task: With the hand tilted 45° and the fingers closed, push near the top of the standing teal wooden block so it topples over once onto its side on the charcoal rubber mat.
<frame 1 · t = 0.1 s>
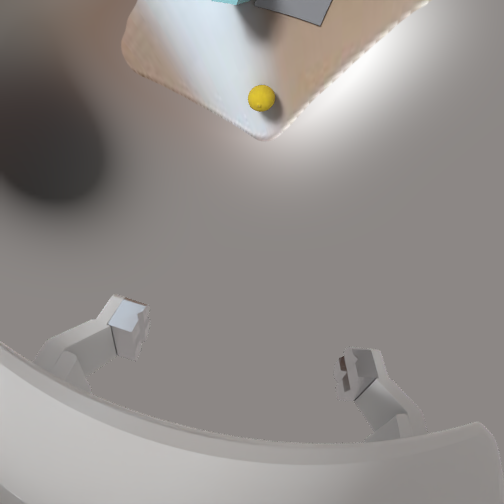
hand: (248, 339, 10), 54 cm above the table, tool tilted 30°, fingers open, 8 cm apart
lemon: (264, 90, 52), on the table
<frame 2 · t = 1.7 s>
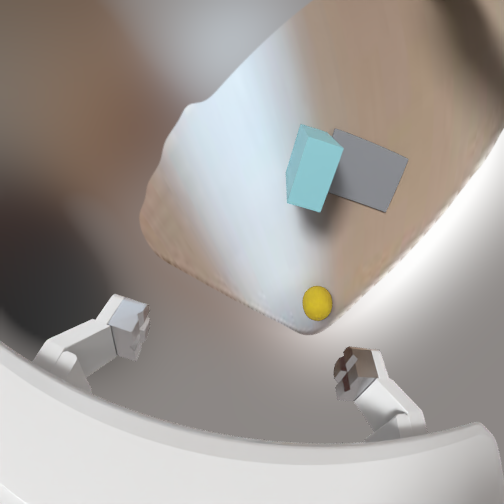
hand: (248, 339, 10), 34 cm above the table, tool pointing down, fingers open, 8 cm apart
lemon: (315, 288, 52), on the table
teal block: (306, 152, 38), on the table
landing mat: (362, 171, 39), on the table
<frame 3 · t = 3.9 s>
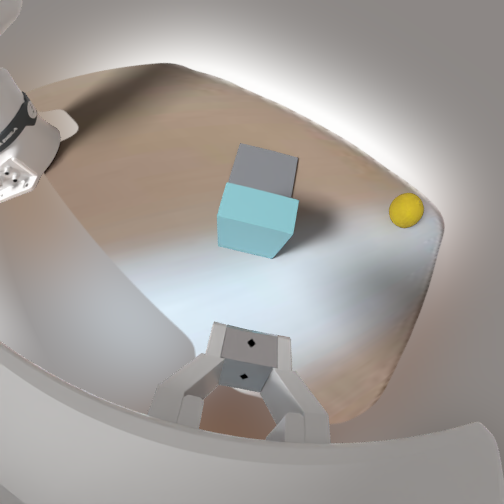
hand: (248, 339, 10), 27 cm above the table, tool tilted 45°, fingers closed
lemon: (393, 218, 44), on the table
teal block: (248, 239, 40), on the table
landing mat: (261, 183, 42), on the table
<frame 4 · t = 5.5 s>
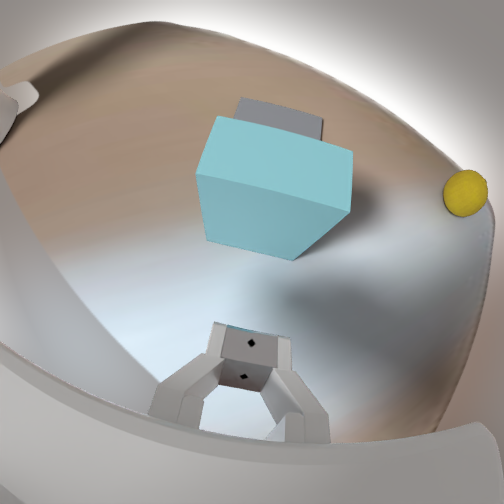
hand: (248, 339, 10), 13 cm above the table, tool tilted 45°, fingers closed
lemon: (445, 205, 29), on the table
teal block: (254, 230, 25), on the table
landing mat: (272, 148, 27), on the table
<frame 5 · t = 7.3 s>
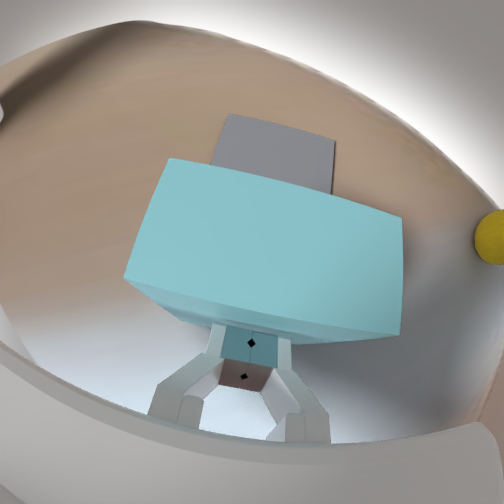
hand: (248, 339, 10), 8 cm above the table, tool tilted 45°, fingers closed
lemon: (474, 247, 23), on the table
teal block: (244, 306, 19), on the table, tilted 6°, touching gripper
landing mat: (269, 186, 21), on the table
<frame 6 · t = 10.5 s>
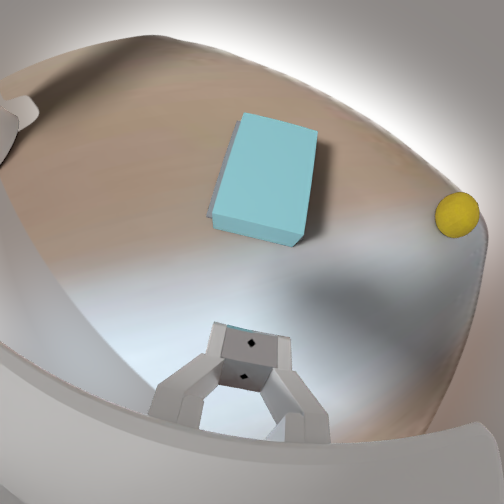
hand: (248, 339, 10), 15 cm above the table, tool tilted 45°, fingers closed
lemon: (437, 225, 31), on the table
teal block: (255, 231, 25), point 2 cm above the table, tilted 90°, touching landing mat
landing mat: (266, 174, 29), on the table
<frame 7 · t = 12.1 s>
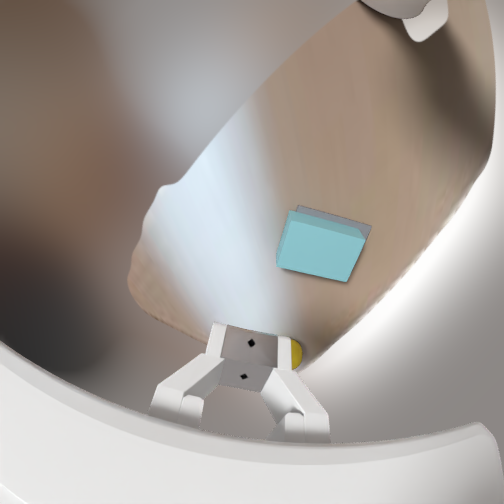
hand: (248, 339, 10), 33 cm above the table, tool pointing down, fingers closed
lemon: (288, 339, 57), on the table
teal block: (283, 238, 42), point 2 cm above the table, tilted 90°, touching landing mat
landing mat: (326, 242, 44), on the table
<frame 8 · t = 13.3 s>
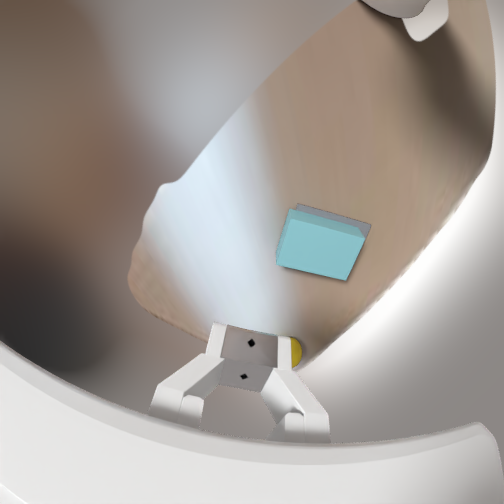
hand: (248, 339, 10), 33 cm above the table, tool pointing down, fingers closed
lemon: (288, 337, 57), on the table
teal block: (282, 236, 42), point 2 cm above the table, tilted 90°, touching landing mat
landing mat: (325, 240, 44), on the table
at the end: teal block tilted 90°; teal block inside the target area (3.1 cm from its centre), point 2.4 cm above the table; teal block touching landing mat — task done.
